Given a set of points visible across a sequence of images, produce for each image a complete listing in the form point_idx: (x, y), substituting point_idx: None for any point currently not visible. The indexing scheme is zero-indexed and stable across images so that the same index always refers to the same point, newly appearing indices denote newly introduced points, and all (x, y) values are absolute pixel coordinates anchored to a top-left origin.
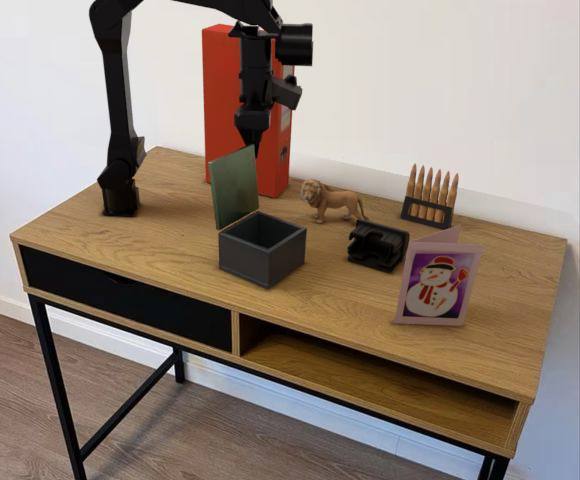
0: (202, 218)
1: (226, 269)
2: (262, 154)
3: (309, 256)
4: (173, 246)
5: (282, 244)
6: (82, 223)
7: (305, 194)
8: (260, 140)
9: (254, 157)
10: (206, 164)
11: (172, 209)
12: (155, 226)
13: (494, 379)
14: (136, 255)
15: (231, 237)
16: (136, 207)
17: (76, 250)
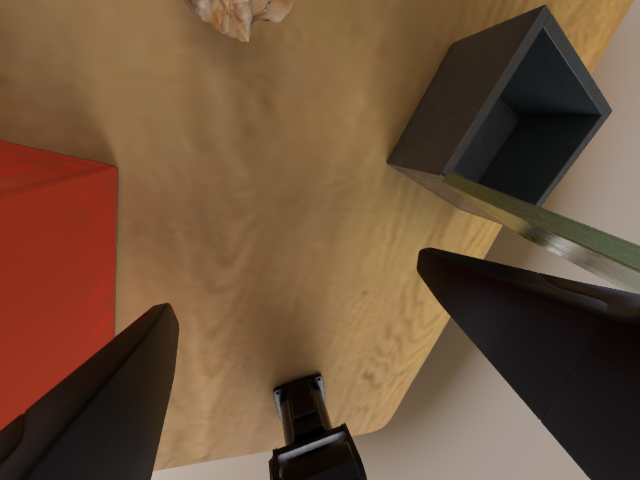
0: (297, 289)
1: None
2: (18, 267)
3: (425, 29)
4: (397, 290)
5: (593, 81)
6: (349, 404)
7: (280, 12)
8: (168, 309)
9: (632, 243)
10: None
11: (276, 343)
12: (342, 336)
13: None
14: (421, 319)
15: (543, 202)
16: (309, 383)
17: (411, 374)
